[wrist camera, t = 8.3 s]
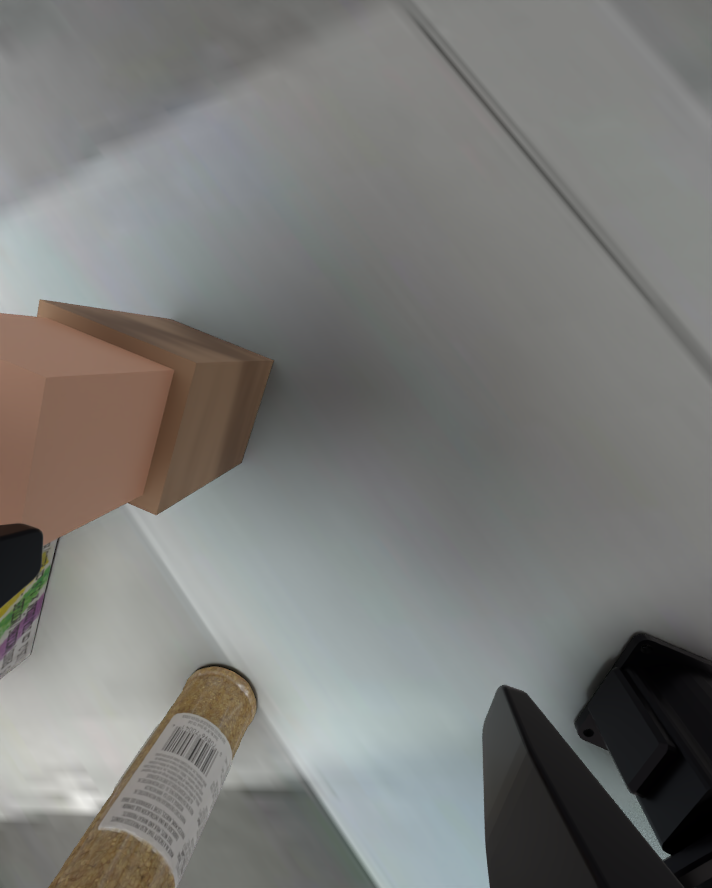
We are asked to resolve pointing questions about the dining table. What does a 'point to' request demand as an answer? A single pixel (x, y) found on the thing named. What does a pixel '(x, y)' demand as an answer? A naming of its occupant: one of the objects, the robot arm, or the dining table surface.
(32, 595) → the cake pan box
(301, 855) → the dining table surface
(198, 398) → the tan wooden block
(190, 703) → the sprinkles bottle
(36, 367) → the cube
